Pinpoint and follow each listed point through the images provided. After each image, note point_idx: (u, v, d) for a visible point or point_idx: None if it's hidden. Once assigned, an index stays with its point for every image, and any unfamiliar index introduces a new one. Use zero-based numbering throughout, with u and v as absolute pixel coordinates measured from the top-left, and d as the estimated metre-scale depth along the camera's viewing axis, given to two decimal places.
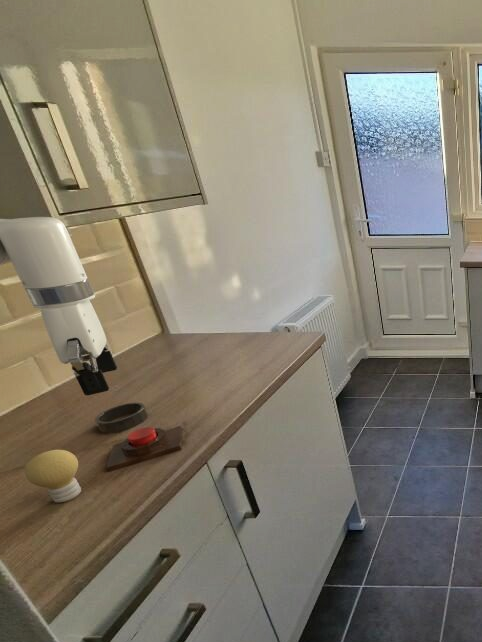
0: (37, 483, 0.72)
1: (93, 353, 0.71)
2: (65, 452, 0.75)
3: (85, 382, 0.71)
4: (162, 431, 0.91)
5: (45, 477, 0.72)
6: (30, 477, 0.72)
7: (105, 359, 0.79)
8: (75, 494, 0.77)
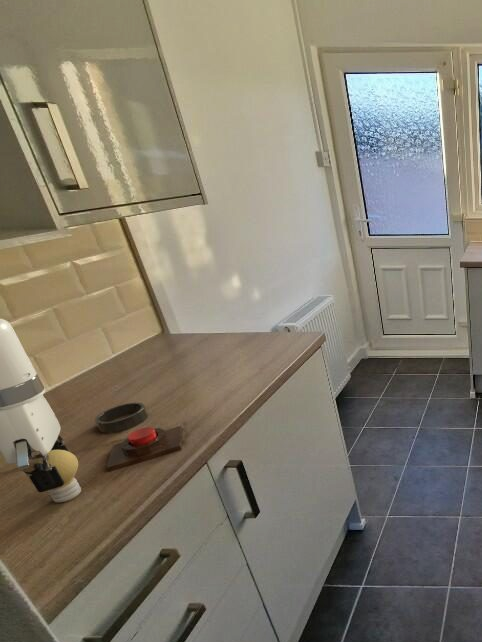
0: None
1: (42, 451, 0.70)
2: (65, 452, 0.75)
3: (38, 481, 0.71)
4: (162, 431, 0.91)
5: None
6: None
7: None
8: (75, 494, 0.77)
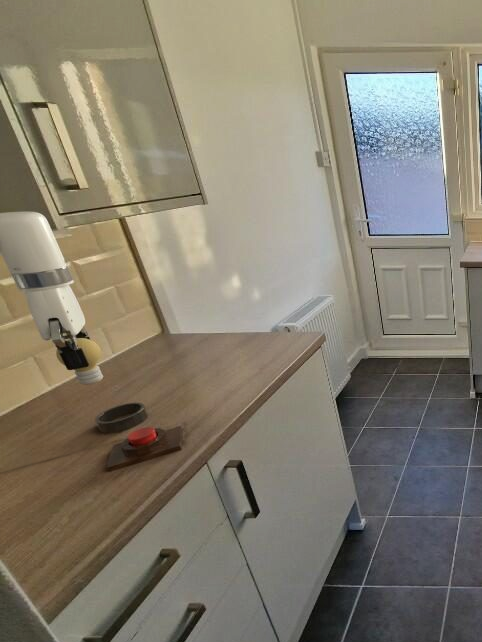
0: None
1: (71, 331, 0.81)
2: (90, 340, 0.87)
3: (67, 358, 0.82)
4: (162, 431, 0.91)
5: None
6: (60, 356, 0.83)
7: None
8: (98, 379, 0.88)
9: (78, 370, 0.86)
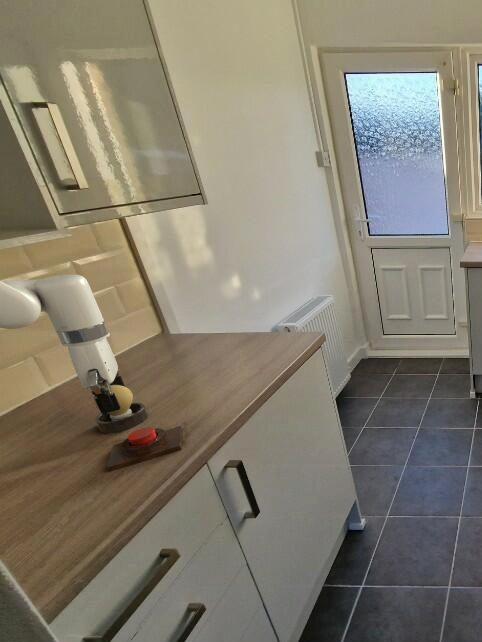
0: None
1: (108, 380, 0.90)
2: (123, 387, 0.96)
3: (102, 403, 0.89)
4: (162, 431, 0.91)
5: None
6: None
7: (117, 383, 0.98)
8: None
9: (113, 414, 0.95)
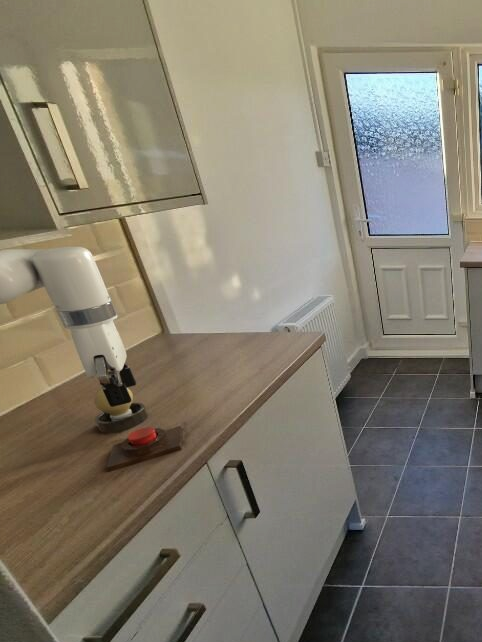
0: (103, 409, 0.92)
1: (116, 368, 0.79)
2: None
3: (111, 395, 0.79)
4: (162, 431, 0.91)
5: None
6: (98, 404, 0.92)
7: (125, 376, 0.87)
8: None
9: (113, 414, 0.95)
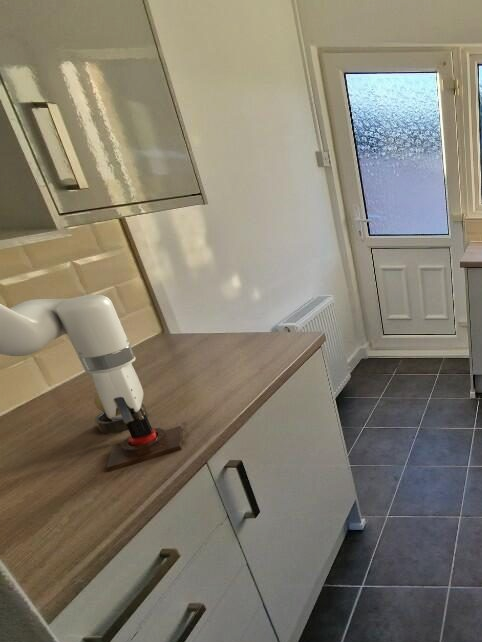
0: (103, 409, 0.92)
1: (135, 408, 0.82)
2: None
3: (133, 428, 0.86)
4: (162, 431, 0.91)
5: None
6: (98, 404, 0.92)
7: None
8: None
9: None
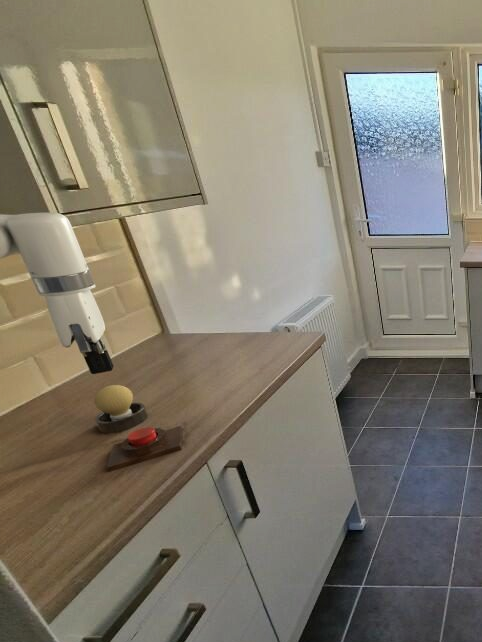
0: (103, 409, 0.92)
1: (92, 338, 0.77)
2: (123, 387, 0.96)
3: (92, 362, 0.81)
4: (162, 431, 0.91)
5: (109, 404, 0.92)
6: (98, 404, 0.92)
7: None
8: None
9: (113, 414, 0.95)
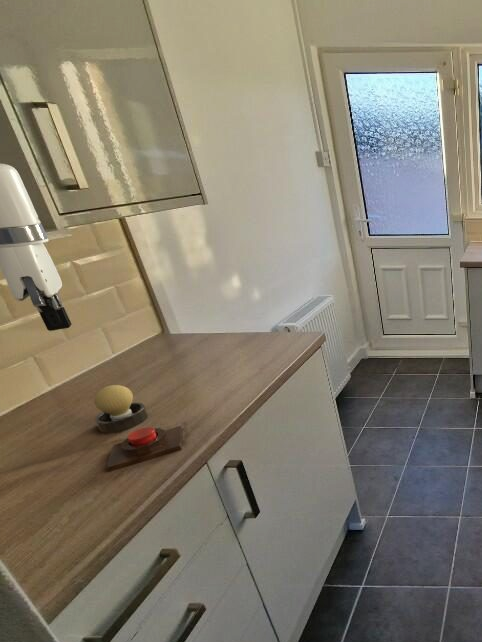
0: (103, 409, 0.92)
1: (46, 292, 0.77)
2: (123, 387, 0.96)
3: (48, 318, 0.81)
4: (162, 431, 0.91)
5: (109, 404, 0.92)
6: (98, 404, 0.92)
7: None
8: None
9: (113, 414, 0.95)
